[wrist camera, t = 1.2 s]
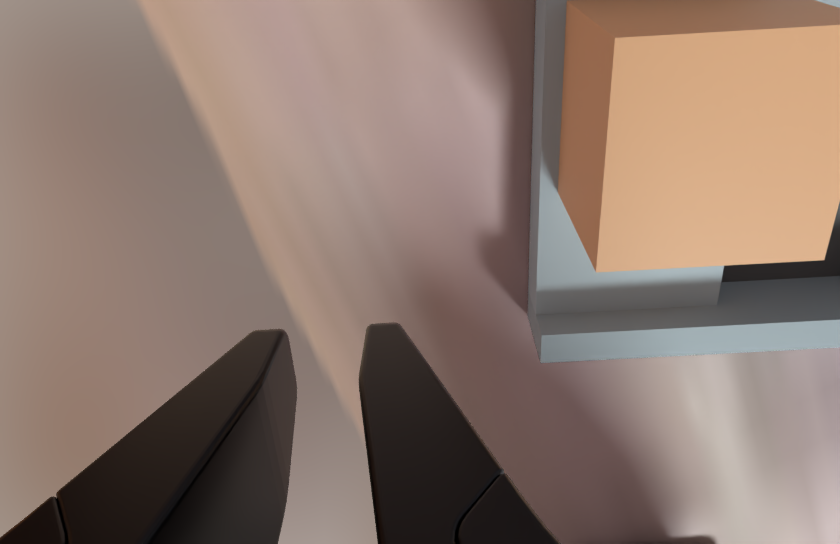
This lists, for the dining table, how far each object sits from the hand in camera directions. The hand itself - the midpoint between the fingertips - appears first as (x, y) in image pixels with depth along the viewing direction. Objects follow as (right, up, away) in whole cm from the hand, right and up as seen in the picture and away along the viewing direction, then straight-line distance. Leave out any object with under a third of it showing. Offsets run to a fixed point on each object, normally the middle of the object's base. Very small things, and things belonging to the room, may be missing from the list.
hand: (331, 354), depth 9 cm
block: (+7, +6, +9) cm, 13 cm away
